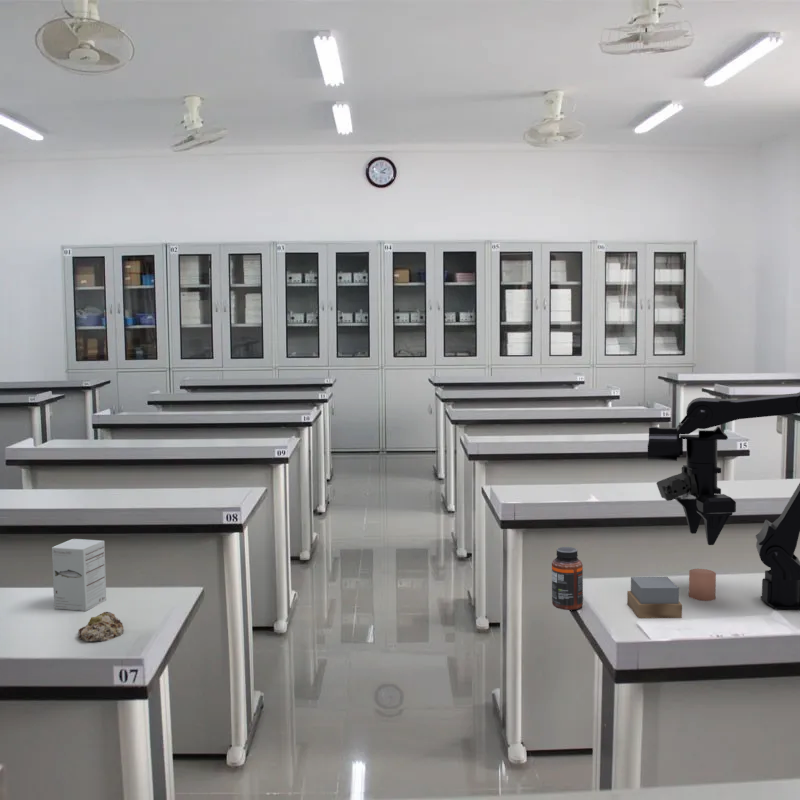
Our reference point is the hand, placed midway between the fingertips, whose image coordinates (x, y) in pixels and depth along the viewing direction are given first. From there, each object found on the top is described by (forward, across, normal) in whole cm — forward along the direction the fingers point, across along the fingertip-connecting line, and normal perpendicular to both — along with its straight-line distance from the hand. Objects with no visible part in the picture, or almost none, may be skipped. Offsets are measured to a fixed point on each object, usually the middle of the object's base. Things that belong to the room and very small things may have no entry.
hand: (701, 539), depth 160 cm
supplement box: (+10, -1, -125) cm, 125 cm away
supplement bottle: (+12, +4, -28) cm, 30 cm away
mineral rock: (+11, +14, -115) cm, 116 cm away
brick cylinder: (+12, 0, 0) cm, 12 cm away
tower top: (+9, +7, -12) cm, 17 cm away
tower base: (+12, +7, -12) cm, 19 cm away
